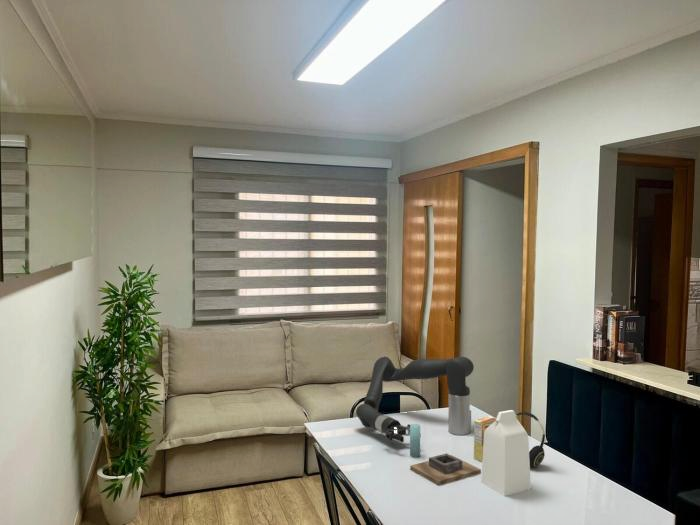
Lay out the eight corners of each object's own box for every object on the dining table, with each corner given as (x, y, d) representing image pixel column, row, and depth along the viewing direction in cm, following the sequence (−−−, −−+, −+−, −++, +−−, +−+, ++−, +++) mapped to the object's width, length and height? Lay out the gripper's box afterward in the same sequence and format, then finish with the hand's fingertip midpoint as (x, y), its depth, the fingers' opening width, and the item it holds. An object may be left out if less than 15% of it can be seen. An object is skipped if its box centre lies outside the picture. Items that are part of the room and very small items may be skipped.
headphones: (516, 456, 220) (517, 406, 220) (550, 467, 209) (551, 415, 208) (503, 461, 215) (504, 410, 214) (537, 473, 204) (538, 419, 203)
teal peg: (415, 453, 223) (416, 423, 223) (422, 456, 220) (422, 426, 220) (407, 454, 221) (408, 425, 221) (414, 458, 218) (414, 427, 218)
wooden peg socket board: (451, 458, 217) (451, 447, 217) (480, 473, 204) (480, 461, 204) (410, 469, 207) (410, 457, 207) (438, 485, 193) (438, 472, 193)
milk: (504, 495, 186) (505, 418, 185) (481, 482, 196) (481, 409, 195) (530, 488, 191) (531, 413, 190) (507, 476, 201) (507, 404, 200)
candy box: (487, 453, 223) (487, 415, 222) (496, 456, 220) (496, 418, 219) (473, 459, 217) (473, 420, 217) (482, 462, 214) (482, 422, 213)
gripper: (401, 431, 240) (425, 443, 226) (373, 437, 233) (397, 450, 219) (401, 414, 240) (425, 425, 226) (373, 420, 232) (397, 431, 219)
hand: (411, 437), depth 222 cm, fingers open, 8 cm apart
